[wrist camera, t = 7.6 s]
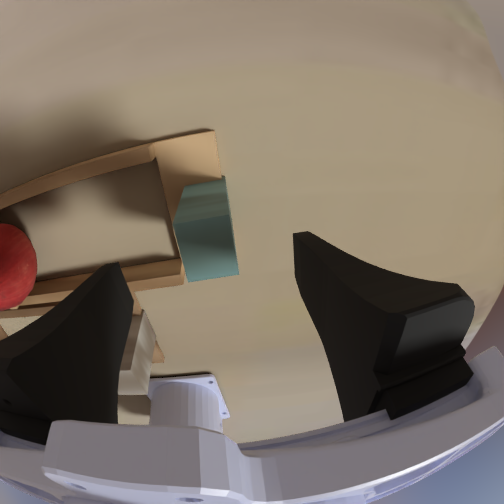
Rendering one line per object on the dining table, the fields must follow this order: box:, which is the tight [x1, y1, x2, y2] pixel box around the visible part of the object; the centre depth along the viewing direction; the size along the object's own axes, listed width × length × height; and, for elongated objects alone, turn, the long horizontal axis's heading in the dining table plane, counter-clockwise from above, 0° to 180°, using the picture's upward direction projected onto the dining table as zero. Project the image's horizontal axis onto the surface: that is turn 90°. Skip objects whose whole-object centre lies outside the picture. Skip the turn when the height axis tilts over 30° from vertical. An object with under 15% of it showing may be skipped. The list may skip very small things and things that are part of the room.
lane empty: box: [0, 292, 165, 395], centre depth 19 cm, size 9×20×6 cm, turn 97°
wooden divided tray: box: [0, 130, 239, 309], centre depth 15 cm, size 9×20×6 cm, turn 97°
